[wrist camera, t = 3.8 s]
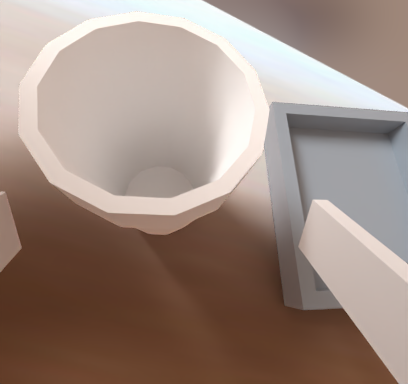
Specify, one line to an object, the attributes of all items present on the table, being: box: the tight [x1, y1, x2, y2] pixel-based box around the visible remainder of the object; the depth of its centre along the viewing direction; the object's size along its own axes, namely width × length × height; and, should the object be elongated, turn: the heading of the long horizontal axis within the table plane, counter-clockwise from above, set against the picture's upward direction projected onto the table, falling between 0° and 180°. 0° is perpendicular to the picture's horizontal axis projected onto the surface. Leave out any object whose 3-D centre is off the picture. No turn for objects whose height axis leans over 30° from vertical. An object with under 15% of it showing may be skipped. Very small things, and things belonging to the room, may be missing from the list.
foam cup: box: [18, 11, 270, 235], centre depth 15 cm, size 10×9×13 cm
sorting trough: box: [264, 102, 408, 310], centre depth 23 cm, size 15×18×3 cm
